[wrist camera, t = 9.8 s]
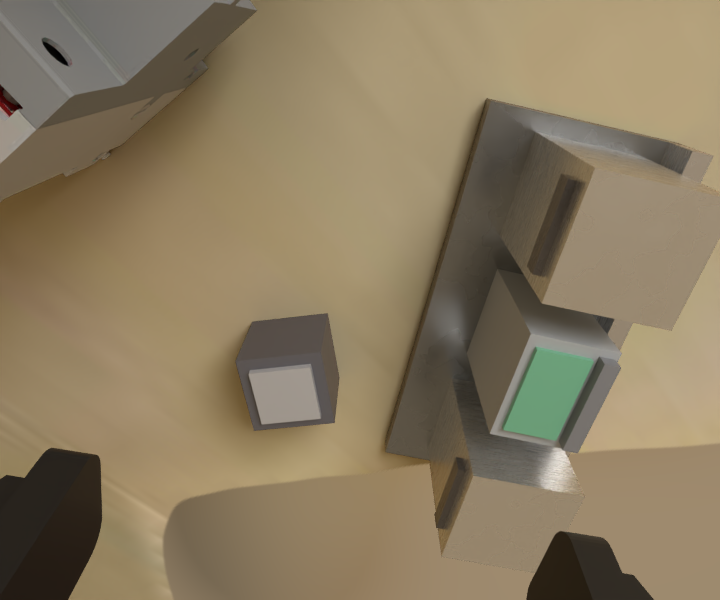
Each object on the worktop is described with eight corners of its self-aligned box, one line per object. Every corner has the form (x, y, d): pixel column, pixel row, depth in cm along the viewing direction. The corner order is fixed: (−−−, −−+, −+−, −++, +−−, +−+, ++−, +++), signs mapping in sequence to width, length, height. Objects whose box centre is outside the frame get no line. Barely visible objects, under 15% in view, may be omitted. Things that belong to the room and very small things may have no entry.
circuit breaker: (296, -9, 28) (224, -49, 15) (105, 158, 32) (-89, 248, 19) (194, -157, 26) (-3, -366, 12) (1, 44, 30) (-310, 51, 16)
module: (497, 268, 33) (534, 341, 25) (568, 285, 34) (627, 361, 26) (466, 353, 36) (492, 442, 28) (533, 367, 36) (577, 460, 28)
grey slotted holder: (487, 98, 30) (535, 125, 21) (677, 142, 31) (803, 188, 22) (385, 441, 41) (388, 560, 31) (530, 468, 41) (575, 593, 32)
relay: (252, 321, 37) (233, 364, 32) (327, 312, 36) (320, 355, 31) (268, 384, 39) (252, 434, 34) (339, 377, 38) (334, 427, 34)
